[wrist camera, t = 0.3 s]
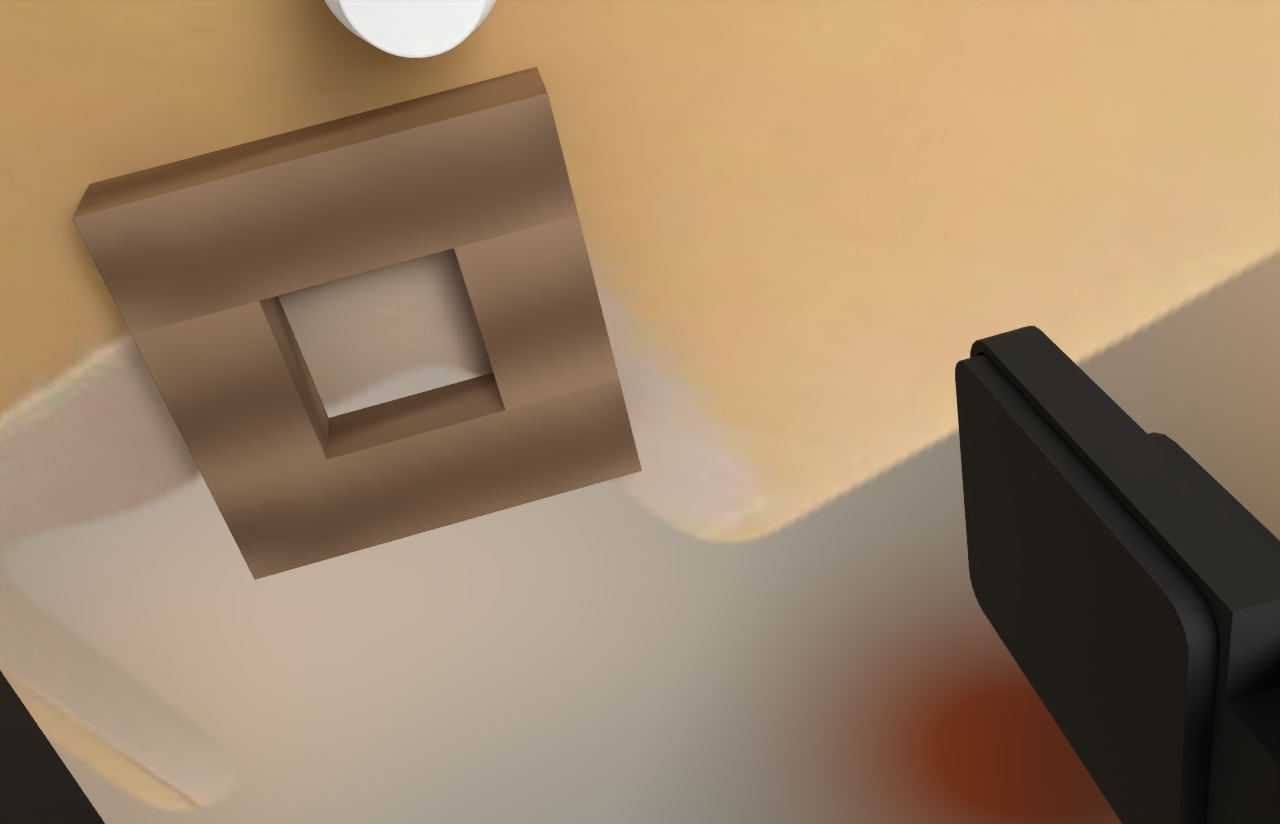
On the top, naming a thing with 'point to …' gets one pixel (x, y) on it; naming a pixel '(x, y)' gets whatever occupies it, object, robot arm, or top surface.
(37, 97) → the top surface
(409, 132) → the socket block
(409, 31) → the supplement bottle
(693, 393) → the top surface
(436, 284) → the top surface
